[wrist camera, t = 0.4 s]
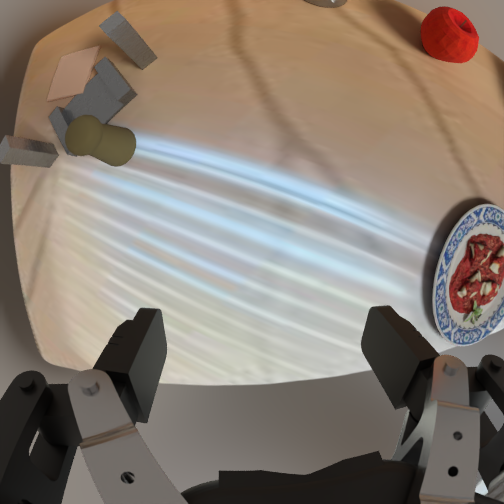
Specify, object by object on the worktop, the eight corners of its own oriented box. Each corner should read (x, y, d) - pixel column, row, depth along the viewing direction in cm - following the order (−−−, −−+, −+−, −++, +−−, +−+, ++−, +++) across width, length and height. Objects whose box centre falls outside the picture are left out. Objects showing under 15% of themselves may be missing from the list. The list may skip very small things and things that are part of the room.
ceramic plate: (452, 179, 33) (462, 178, 30) (524, 232, 33) (533, 234, 31) (403, 330, 38) (411, 338, 35) (484, 347, 38) (492, 353, 35)
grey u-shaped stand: (168, 69, 32) (137, 30, 21) (56, 181, 36) (6, 180, 24) (140, 39, 31) (108, 3, 20) (38, 144, 35) (-7, 136, 23)
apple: (459, 78, 29) (498, 56, 17) (418, 66, 30) (455, 36, 18) (443, 36, 28) (475, 10, 16) (402, 23, 28) (431, -11, 16)
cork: (138, 159, 35) (96, 147, 24) (104, 171, 36) (59, 164, 25) (134, 122, 34) (94, 100, 23) (101, 135, 35) (57, 120, 24)
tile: (63, 57, 32) (61, 56, 31) (100, 46, 32) (99, 45, 31) (48, 102, 34) (46, 101, 33) (84, 94, 33) (82, 93, 33)
